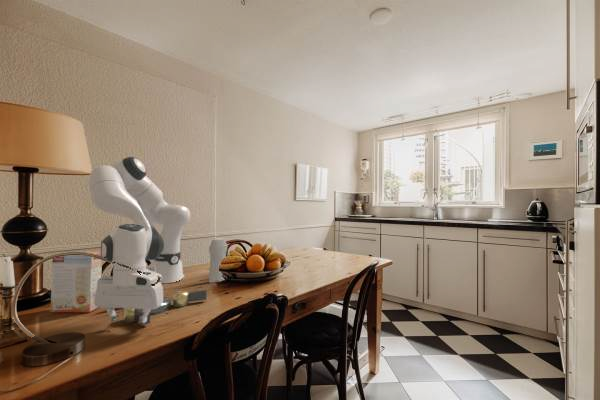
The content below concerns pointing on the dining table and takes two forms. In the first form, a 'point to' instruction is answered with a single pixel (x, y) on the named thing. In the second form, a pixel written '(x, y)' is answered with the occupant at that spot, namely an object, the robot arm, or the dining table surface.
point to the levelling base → (162, 306)
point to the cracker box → (75, 283)
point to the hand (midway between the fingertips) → (128, 321)
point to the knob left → (187, 297)
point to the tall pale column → (216, 259)
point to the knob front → (134, 315)
